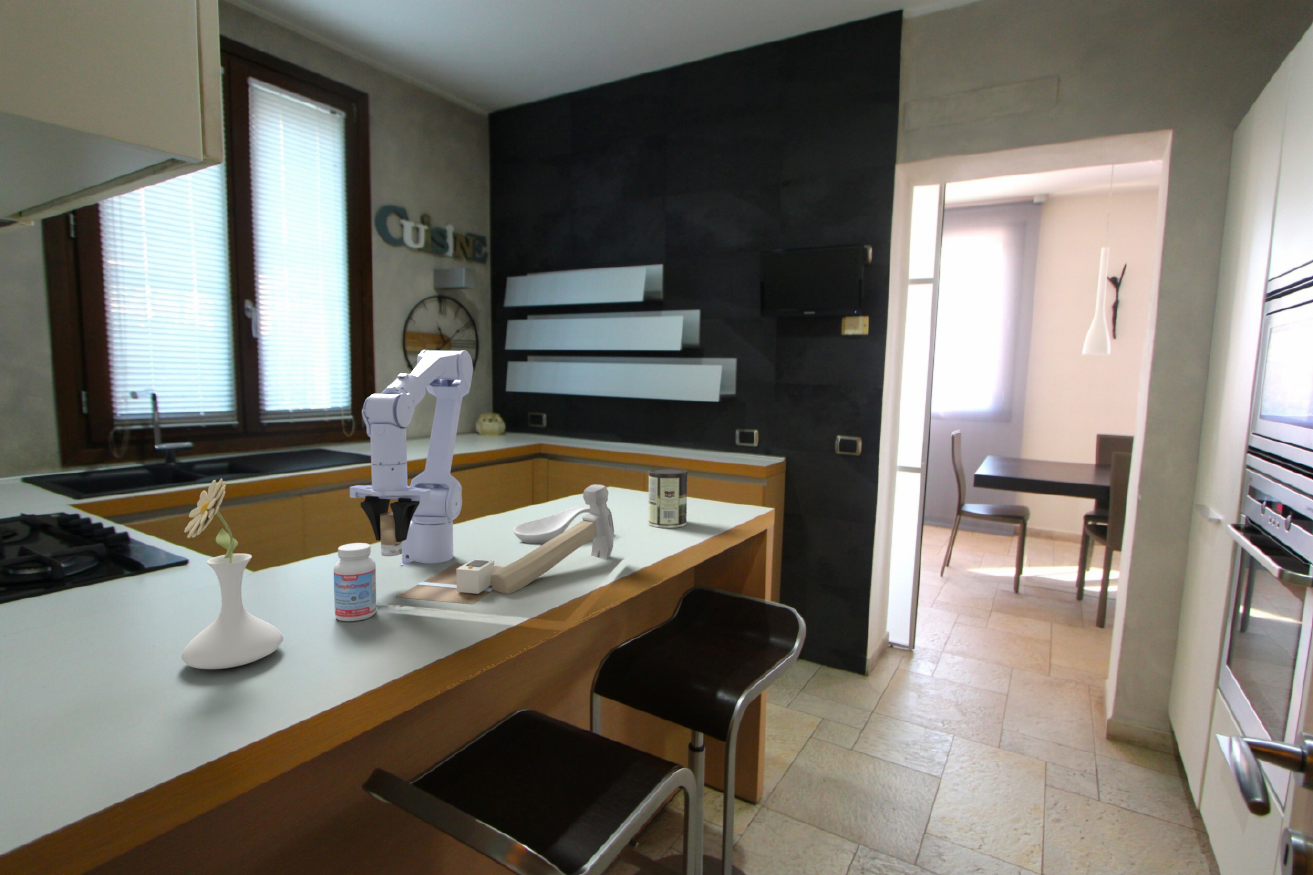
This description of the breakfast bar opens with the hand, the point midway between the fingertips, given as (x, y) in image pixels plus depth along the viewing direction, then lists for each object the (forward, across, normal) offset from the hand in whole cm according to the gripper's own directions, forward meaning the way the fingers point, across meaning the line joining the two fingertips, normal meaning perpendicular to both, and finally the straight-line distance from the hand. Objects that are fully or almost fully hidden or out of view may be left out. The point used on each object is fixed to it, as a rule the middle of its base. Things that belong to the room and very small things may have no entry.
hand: (391, 539), depth 112 cm
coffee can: (+10, +37, +64) cm, 75 cm away
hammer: (+10, +25, +15) cm, 31 cm away
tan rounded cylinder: (+2, 0, 0) cm, 2 cm away
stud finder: (+8, +15, +2) cm, 17 cm away
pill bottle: (+10, +1, -11) cm, 15 cm away
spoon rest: (+10, +16, +43) cm, 47 cm away
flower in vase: (+10, -4, -29) cm, 31 cm away
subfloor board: (+9, +11, +5) cm, 15 cm away
